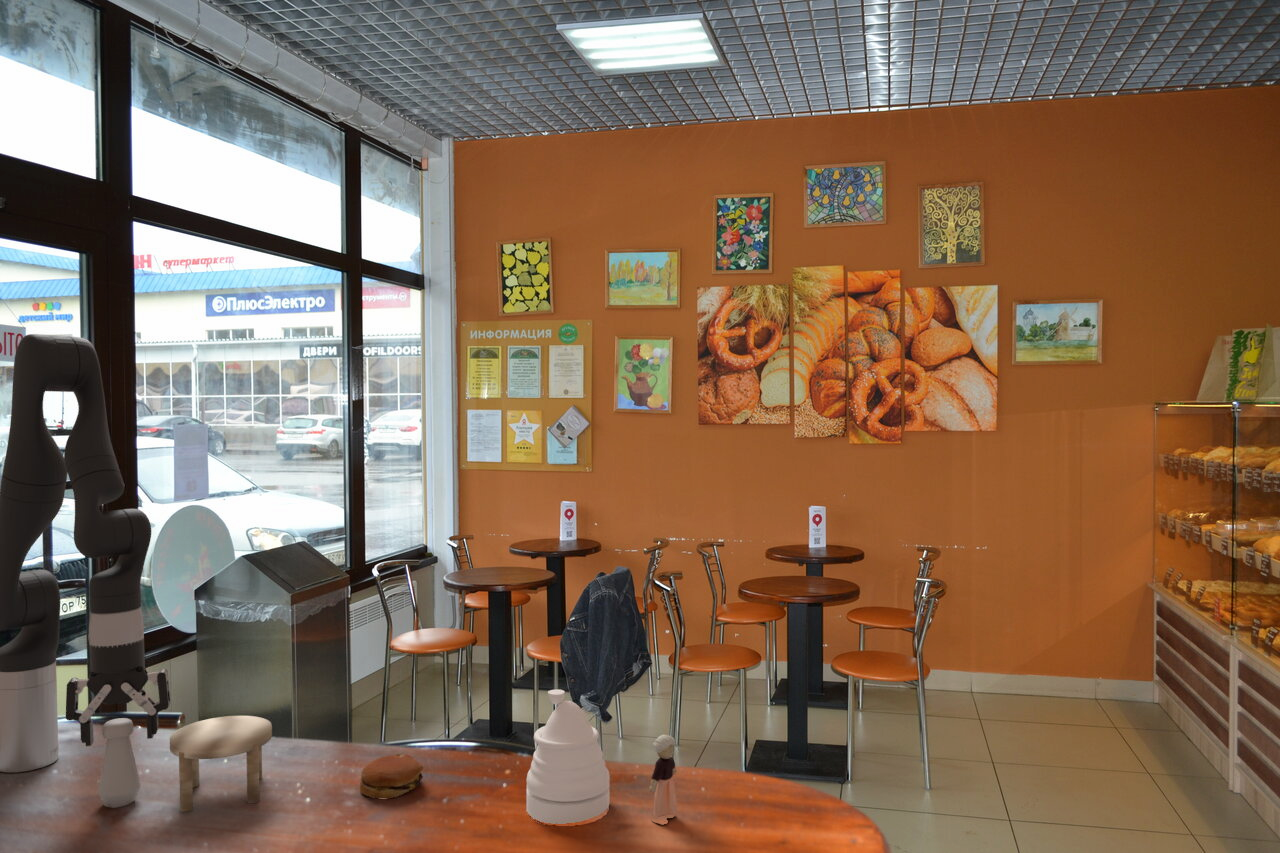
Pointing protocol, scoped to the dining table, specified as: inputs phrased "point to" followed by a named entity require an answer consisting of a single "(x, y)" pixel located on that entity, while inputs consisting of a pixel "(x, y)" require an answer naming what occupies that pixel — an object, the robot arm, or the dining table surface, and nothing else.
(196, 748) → the stool
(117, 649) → the robot arm
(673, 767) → the grandmother figurine
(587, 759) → the honey pot
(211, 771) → the dining table surface
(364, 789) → the burger
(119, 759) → the salt shaker
